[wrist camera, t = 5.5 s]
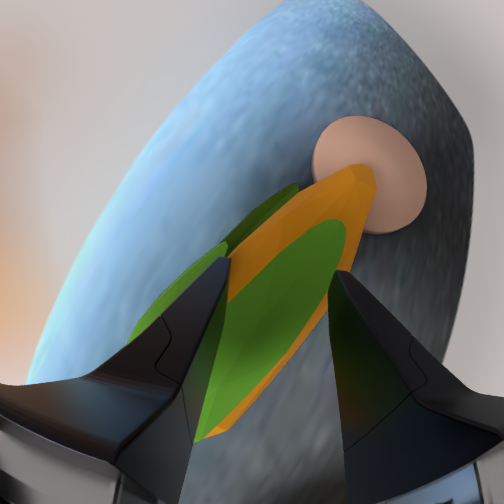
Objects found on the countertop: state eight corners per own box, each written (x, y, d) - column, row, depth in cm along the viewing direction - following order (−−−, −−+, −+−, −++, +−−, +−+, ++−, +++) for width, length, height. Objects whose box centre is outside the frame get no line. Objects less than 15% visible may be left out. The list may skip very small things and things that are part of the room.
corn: (55, 407, 9) (338, 85, 13) (110, 369, 17) (301, 148, 20) (188, 507, 9) (446, 184, 13) (197, 439, 17) (379, 217, 20)
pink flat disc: (428, 232, 20) (437, 229, 19) (319, 237, 19) (325, 233, 18) (403, 129, 21) (409, 122, 20) (303, 120, 21) (306, 111, 20)
